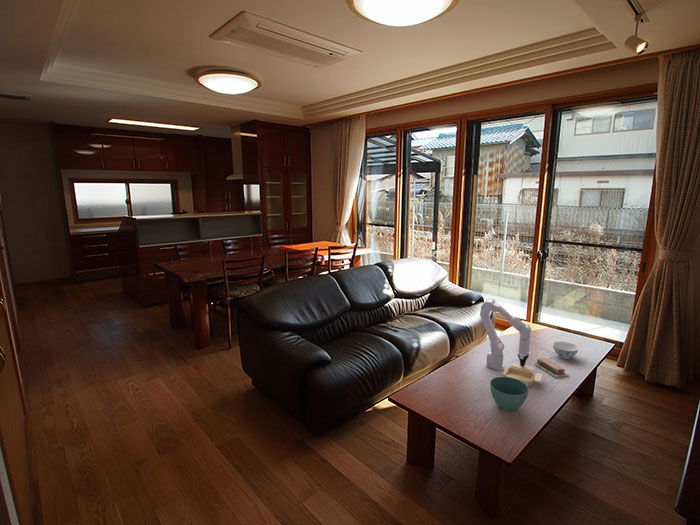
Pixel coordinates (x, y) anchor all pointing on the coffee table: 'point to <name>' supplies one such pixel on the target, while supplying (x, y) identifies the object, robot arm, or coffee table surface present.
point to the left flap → (522, 367)
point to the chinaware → (565, 349)
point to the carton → (520, 375)
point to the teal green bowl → (508, 392)
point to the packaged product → (551, 368)
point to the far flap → (538, 377)
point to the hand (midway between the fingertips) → (522, 365)
